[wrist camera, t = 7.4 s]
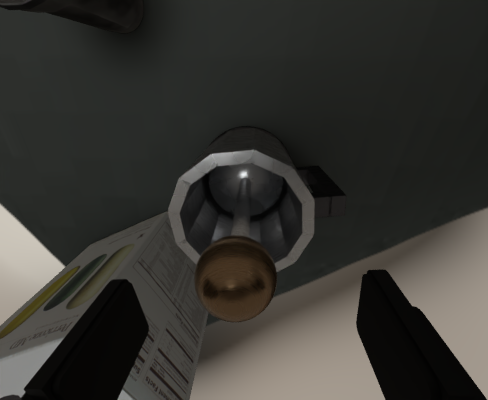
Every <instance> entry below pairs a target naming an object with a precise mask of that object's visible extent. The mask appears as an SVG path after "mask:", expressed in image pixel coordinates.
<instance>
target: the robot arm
mask: <svg viewBox="0 0 488 400" xmlns="http://www.w3.org/2000/svg"><path fill="white" fill-rule="evenodd" d="M356 324H357V330H358V333H359V336H360V338H361V341H362V343H363V346H364V348H365V350H366V353H367V355H368V358H369V360H370V363H371V365H372V368H373V370H374V372H375V375H376V377H377V380H378V382H379V385H380V387H381V390H382V392H383V395H384V397H385V400H487V399H486V398H485V396H484V395H483V394H482V392H481V391H480V389H479V388H478V387H477V385H476V384H475V383H474V381H473V380H472V379H471V377H470V376H469V375H468V373H467V372H466V371H465V369H464V368H463V367H462V365H461V364H460V362H459V361H458V360H457V358H456V357H455V356H454V354H453V353H452V352H451V350H450V349H449V347H448V346H447V345H446V343H445V342H444V341H443V339H442V338H441V337H440V335H439V334H438V333H437V331H436V330H435V329H434V327H433V326H432V324H431V323H430V322H429V320H428V319H427V318H426V316H425V315H424V314H423V312H422V311H421V310H420V309H418V308H417V307H413V306H412V305H411V304H410V303H409V301H408V300H407V298H406V297H405V296H404V294H403V293H402V292H401V290H400V289H399V287H398V286H397V284H396V283H395V282H394V280H393V279H392V277H391V276H390V274H389V273H388V272H387V271H386V270H368V271H367V274H364V275H363V277H362V284H361V291H360V299H359V307H358V314H357V321H356ZM148 332H149V325H148V322H147V320H146V317H145V315H144V312H143V310H142V307H141V305H140V302H139V300H138V297H137V295H136V292H135V290H134V287H133V285H132V283H131V282H129V281H128V280H127V279H113V280H111V281H110V282H109V283H108V284H107V285H106V286H105V288H104V289H103V290H102V291H101V293H100V294H99V295H98V296H97V298H96V299H95V300H94V301H93V303H92V304H91V305H90V306H89V308H88V309H87V310H86V311H85V313H84V314H83V315H82V316H81V318H80V319H79V320H78V321H77V323H76V324H75V325H74V326H73V328H72V329H71V330H70V331H69V333H68V334H67V335H66V336H65V338H64V339H63V340H62V341H61V343H60V344H59V345H58V346H57V348H56V349H55V350H54V351H53V353H52V354H51V355H50V356H49V358H48V359H47V360H46V361H45V363H44V364H43V365H42V366H41V368H40V369H39V370H38V371H37V373H36V374H35V375H34V376H33V378H32V379H31V380H30V381H29V383H28V384H27V385H26V386H25V388H24V391H25V393H24V395H23V396H22V397H21V398H20V397H19V395H8V396H4V397H2V398H0V400H118V397H119V395H120V393H121V391H122V389H123V387H124V385H125V382H126V380H127V378H128V376H129V374H130V372H131V370H132V367H133V365H134V363H135V361H136V359H137V357H138V354H139V352H140V350H141V348H142V346H143V344H144V342H145V339H146V337H147V335H148Z"/></svg>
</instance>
